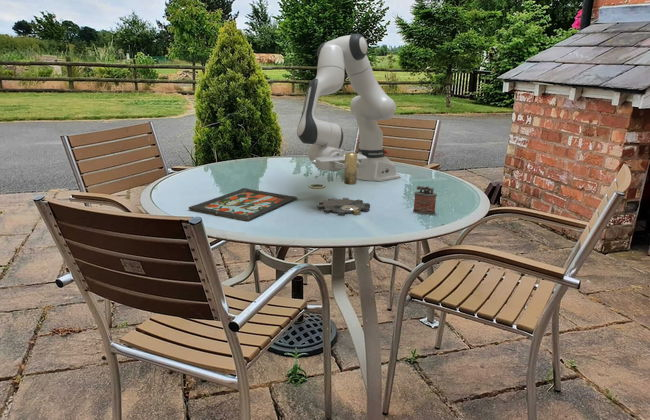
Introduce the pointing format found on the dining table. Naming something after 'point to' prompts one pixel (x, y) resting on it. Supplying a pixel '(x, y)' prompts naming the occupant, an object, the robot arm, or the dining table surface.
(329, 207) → the sprocket plate
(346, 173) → the pin
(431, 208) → the lighter
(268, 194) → the painting
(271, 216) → the dining table surface
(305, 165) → the dining table surface
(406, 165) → the dining table surface
